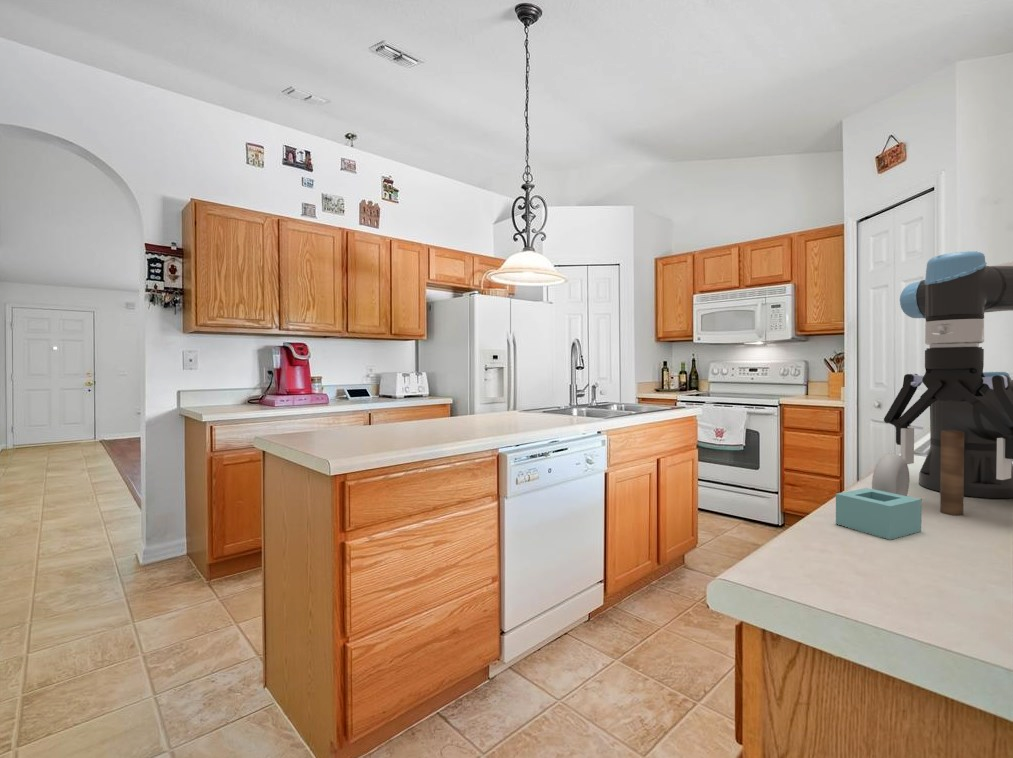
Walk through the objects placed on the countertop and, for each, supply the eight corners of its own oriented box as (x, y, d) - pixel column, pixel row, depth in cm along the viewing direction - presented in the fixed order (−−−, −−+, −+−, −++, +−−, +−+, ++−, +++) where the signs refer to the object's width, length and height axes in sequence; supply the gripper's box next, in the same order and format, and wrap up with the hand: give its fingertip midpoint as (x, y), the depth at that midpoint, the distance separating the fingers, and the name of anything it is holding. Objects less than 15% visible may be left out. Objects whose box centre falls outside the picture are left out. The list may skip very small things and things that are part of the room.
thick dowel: (945, 509, 90) (946, 429, 89) (967, 513, 87) (968, 431, 86) (936, 511, 88) (937, 431, 88) (957, 516, 86) (958, 433, 85)
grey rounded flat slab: (892, 518, 85) (892, 458, 85) (868, 513, 88) (868, 455, 88) (912, 507, 91) (912, 451, 91) (889, 502, 94) (889, 448, 94)
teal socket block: (866, 517, 86) (866, 487, 86) (921, 531, 79) (921, 499, 79) (835, 524, 83) (835, 493, 83) (889, 539, 75) (890, 506, 75)
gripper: (862, 348, 96) (861, 460, 97) (1043, 343, 74) (1041, 489, 74) (886, 348, 100) (885, 456, 100) (1067, 343, 77) (1065, 483, 78)
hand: (952, 470), depth 87 cm, fingers open, 13 cm apart
